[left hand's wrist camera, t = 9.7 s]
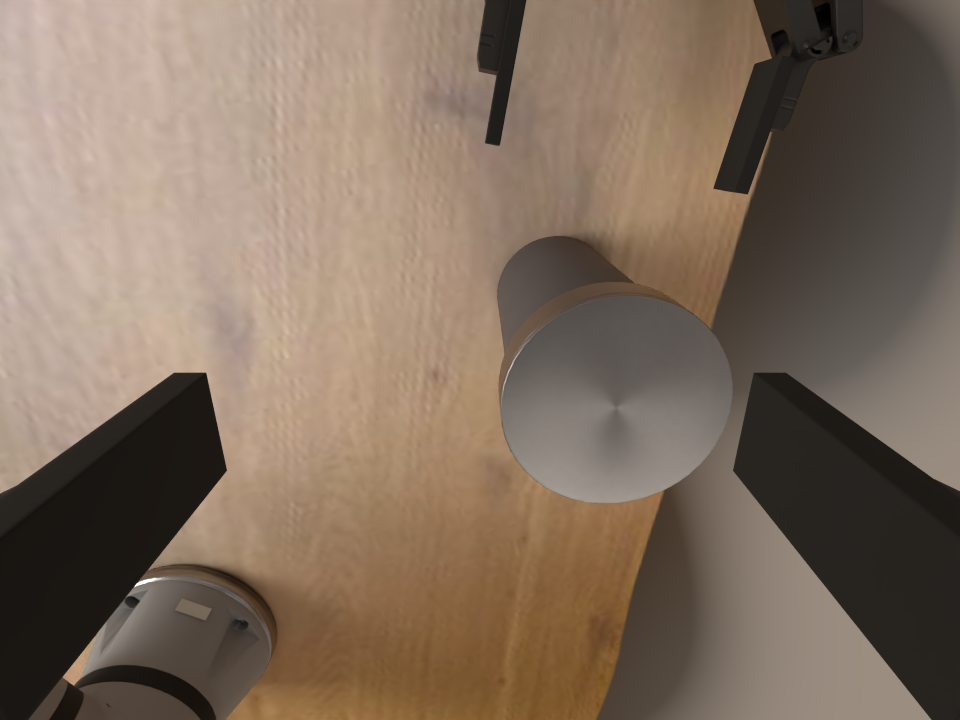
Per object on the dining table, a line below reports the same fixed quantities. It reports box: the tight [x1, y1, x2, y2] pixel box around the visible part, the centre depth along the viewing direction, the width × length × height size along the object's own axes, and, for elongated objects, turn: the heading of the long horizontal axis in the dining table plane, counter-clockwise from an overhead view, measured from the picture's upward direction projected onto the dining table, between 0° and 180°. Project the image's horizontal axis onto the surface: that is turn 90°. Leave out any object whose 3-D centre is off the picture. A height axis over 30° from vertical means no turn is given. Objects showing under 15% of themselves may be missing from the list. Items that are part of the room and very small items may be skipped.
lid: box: [499, 282, 733, 503], centre depth 22 cm, size 9×9×2 cm
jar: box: [497, 236, 635, 352], centre depth 30 cm, size 8×8×18 cm
